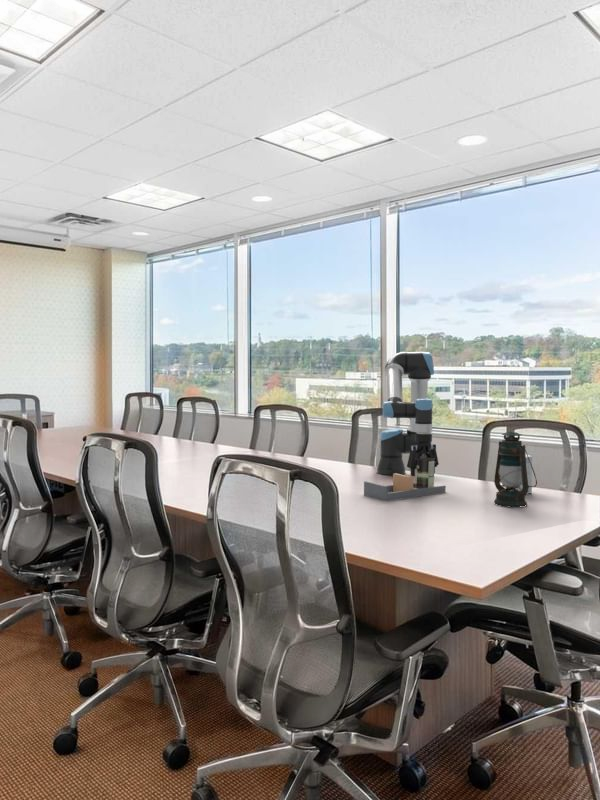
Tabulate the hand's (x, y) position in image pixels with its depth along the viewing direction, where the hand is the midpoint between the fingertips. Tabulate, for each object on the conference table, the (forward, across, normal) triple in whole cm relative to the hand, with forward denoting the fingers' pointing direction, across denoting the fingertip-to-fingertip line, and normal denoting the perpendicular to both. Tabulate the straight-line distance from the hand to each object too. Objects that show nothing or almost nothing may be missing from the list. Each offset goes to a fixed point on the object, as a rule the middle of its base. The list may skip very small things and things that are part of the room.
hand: (422, 482), depth 279 cm
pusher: (+4, +12, 0) cm, 13 cm away
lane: (+4, +10, 0) cm, 11 cm away
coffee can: (+3, 0, 0) cm, 3 cm away
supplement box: (+4, -36, +24) cm, 43 cm away
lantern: (+4, -12, +39) cm, 41 cm away
